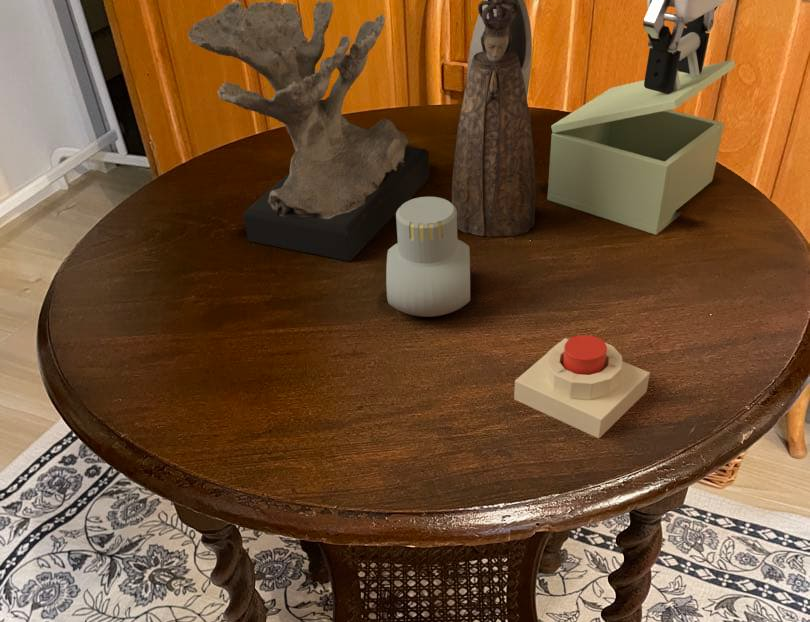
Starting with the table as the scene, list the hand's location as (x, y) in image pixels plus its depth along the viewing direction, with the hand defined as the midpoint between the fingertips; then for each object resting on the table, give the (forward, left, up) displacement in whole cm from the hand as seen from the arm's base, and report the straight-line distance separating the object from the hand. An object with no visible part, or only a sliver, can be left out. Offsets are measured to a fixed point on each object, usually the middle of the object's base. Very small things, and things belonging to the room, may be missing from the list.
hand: (672, 79), depth 91 cm
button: (-13, +35, -10) cm, 39 cm away
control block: (-13, +35, -14) cm, 40 cm away
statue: (+12, +15, -14) cm, 24 cm away
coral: (+32, +24, -14) cm, 43 cm away
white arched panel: (+23, -1, -14) cm, 27 cm away
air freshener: (+8, +31, -14) cm, 35 cm away
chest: (+3, 0, -14) cm, 14 cm away
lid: (+3, 0, -3) cm, 4 cm away
